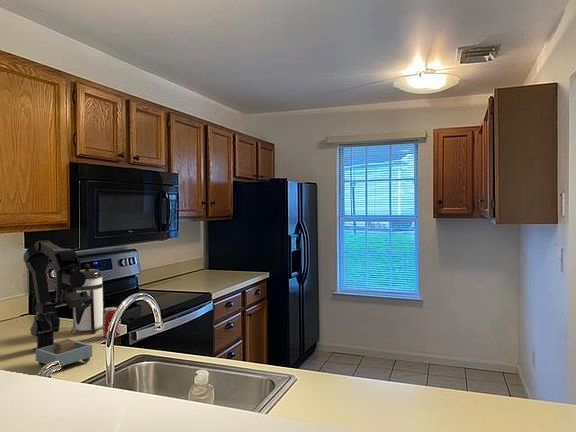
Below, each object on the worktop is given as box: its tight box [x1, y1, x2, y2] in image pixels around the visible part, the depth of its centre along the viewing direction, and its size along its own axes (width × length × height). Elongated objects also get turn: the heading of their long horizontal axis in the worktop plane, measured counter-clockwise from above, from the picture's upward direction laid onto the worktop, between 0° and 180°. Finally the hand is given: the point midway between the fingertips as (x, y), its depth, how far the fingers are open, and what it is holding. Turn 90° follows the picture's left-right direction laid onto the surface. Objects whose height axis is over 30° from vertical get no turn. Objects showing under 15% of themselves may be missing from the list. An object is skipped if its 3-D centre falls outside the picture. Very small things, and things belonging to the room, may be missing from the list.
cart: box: [35, 339, 93, 372], centre depth 156 cm, size 13×13×6 cm
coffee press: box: [70, 263, 105, 335], centre depth 200 cm, size 17×16×30 cm
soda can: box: [102, 306, 122, 339], centre depth 190 cm, size 7×7×12 cm
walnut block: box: [53, 338, 76, 354], centre depth 156 cm, size 5×5×5 cm
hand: (66, 327), depth 162 cm, fingers open, 9 cm apart
